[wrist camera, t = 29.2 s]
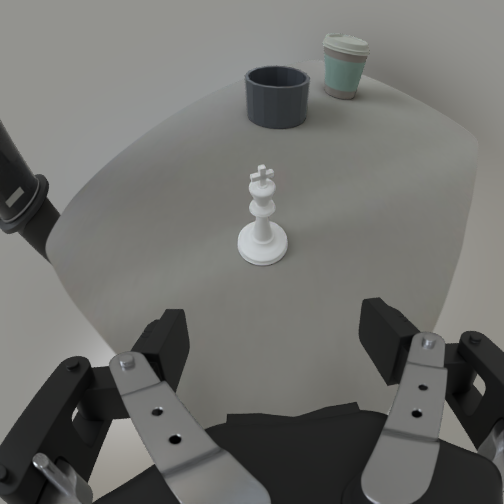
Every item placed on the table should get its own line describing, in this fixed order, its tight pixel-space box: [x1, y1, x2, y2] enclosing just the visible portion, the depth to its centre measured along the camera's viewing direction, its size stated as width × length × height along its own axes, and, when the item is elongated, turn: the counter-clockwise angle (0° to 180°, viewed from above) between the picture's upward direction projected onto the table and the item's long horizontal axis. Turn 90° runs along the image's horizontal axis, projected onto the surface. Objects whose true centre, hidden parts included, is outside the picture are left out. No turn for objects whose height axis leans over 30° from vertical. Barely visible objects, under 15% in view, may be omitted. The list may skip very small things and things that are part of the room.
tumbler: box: [245, 66, 310, 129], centre depth 37 cm, size 9×9×7 cm
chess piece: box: [238, 164, 288, 265], centre depth 23 cm, size 5×5×10 cm
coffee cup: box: [322, 34, 369, 99], centre depth 39 cm, size 8×8×12 cm
